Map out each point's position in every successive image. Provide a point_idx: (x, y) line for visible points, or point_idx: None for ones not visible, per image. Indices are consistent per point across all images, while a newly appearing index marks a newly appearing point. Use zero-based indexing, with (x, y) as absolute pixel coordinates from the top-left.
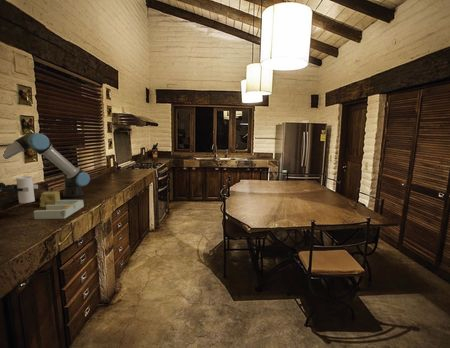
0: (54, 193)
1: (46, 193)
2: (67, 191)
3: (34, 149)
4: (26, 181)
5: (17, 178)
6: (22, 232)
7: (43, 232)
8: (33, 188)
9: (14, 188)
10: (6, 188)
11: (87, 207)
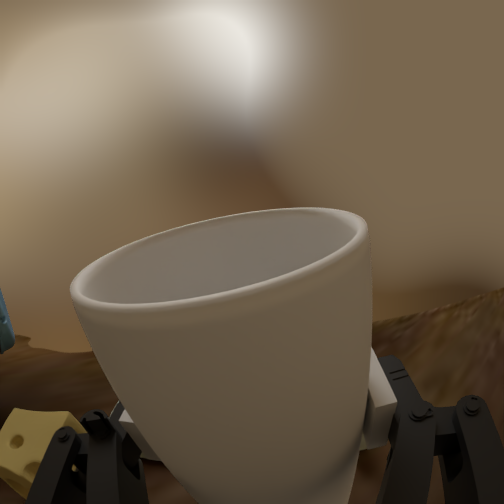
0: (61, 413)
1: (28, 451)
2: None
3: None
4: (312, 260)
5: (361, 232)
6: (494, 355)
7: (462, 318)
8: None
9: (434, 416)
10: (502, 500)
11: None
